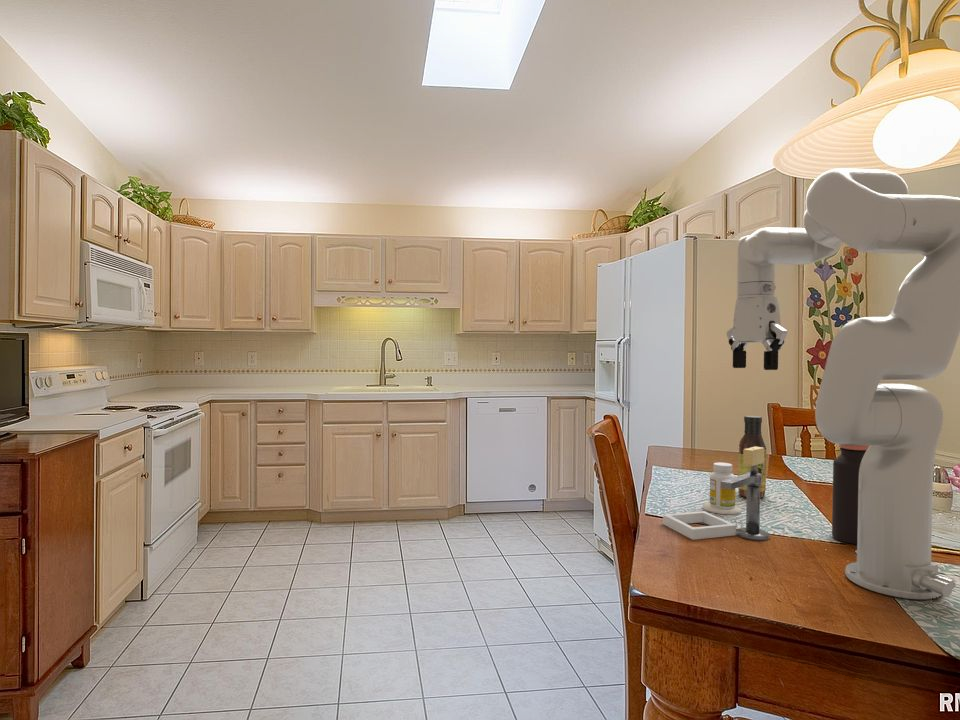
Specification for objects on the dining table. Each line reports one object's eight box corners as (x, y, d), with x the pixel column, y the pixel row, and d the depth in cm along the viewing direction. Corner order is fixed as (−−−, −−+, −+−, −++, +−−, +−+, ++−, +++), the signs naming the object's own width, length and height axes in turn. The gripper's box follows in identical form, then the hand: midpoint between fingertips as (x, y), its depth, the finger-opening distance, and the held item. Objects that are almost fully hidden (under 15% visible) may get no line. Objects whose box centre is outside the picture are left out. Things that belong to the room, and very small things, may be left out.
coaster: (748, 513, 130) (748, 509, 130) (718, 515, 128) (718, 512, 128) (724, 503, 138) (724, 500, 138) (695, 505, 135) (695, 502, 135)
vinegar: (833, 531, 117) (835, 433, 117) (873, 538, 113) (876, 436, 113) (830, 541, 112) (832, 437, 111) (873, 548, 108) (875, 440, 107)
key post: (776, 539, 113) (777, 488, 112) (750, 541, 111) (751, 490, 111) (754, 529, 118) (755, 480, 118) (729, 532, 117) (730, 482, 116)
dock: (736, 535, 115) (736, 525, 115) (692, 539, 112) (692, 529, 112) (704, 520, 124) (704, 511, 124) (663, 524, 122) (663, 514, 122)
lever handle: (766, 483, 115) (767, 448, 115) (733, 494, 106) (734, 456, 106) (751, 480, 117) (752, 445, 117) (718, 491, 108) (718, 454, 108)
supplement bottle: (738, 506, 132) (739, 463, 132) (730, 511, 128) (730, 467, 128) (715, 501, 136) (715, 460, 136) (705, 506, 132) (706, 464, 132)
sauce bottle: (762, 501, 140) (763, 418, 139) (734, 496, 144) (736, 416, 143) (768, 495, 145) (769, 416, 144) (741, 491, 149) (742, 414, 148)
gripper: (800, 288, 121) (799, 370, 122) (742, 295, 138) (741, 367, 138) (770, 287, 119) (769, 370, 120) (715, 294, 136) (714, 367, 136)
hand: (754, 368), depth 129 cm, fingers open, 9 cm apart
